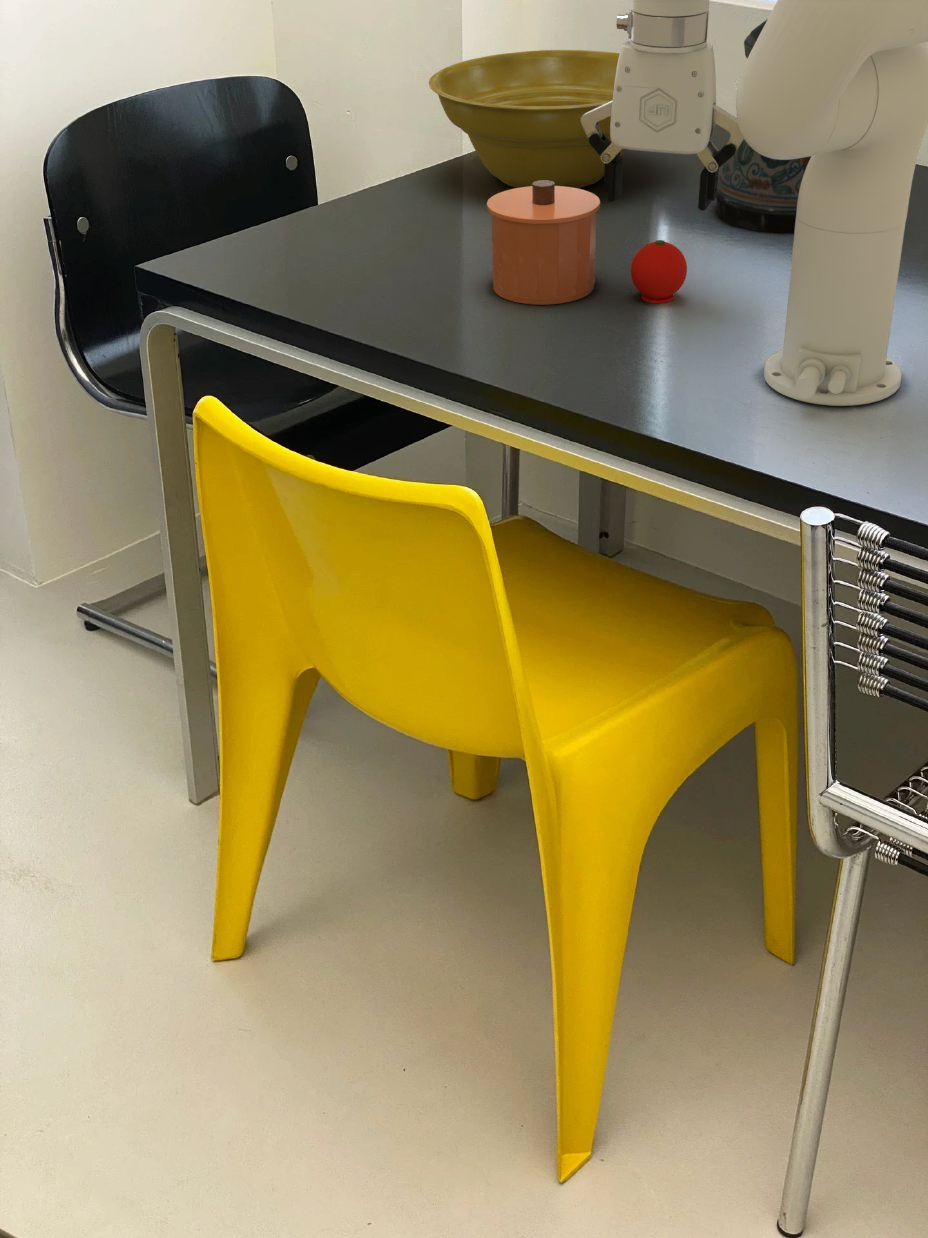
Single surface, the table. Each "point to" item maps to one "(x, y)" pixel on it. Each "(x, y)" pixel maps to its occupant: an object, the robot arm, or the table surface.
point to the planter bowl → (531, 112)
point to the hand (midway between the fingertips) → (659, 202)
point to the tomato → (658, 271)
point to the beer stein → (759, 183)
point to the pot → (543, 260)
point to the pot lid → (543, 204)
